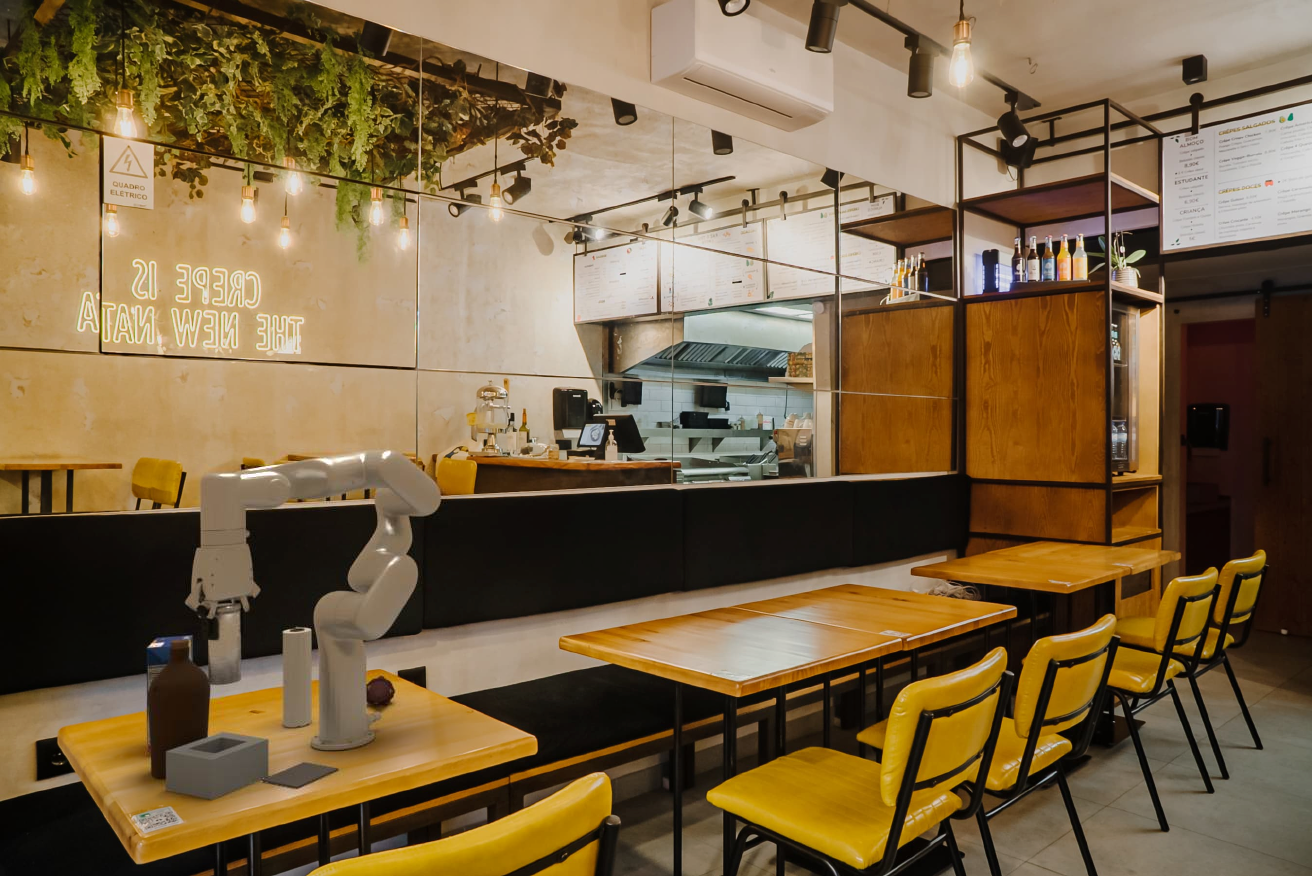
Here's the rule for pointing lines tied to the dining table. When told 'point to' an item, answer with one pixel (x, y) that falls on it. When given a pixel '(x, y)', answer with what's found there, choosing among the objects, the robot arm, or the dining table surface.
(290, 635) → the paper towel roll
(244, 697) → the dining table surface
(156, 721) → the olive oil
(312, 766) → the mat
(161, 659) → the beverage box
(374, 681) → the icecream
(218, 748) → the housing
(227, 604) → the silver metallic cylinder
